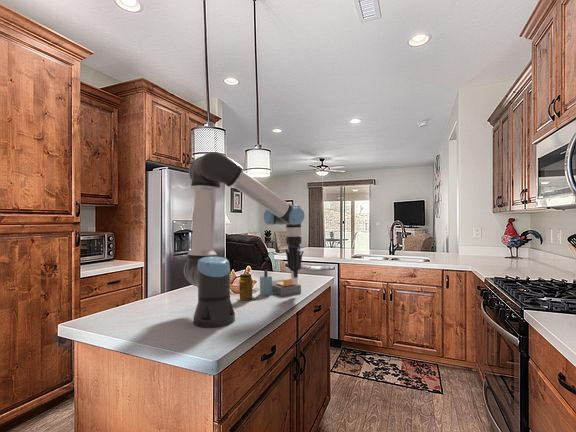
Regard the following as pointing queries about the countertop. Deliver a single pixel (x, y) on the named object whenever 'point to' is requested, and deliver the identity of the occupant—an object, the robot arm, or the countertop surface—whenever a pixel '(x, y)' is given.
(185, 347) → the countertop surface
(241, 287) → the condiment
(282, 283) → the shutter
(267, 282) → the light blue bottle
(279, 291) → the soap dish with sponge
